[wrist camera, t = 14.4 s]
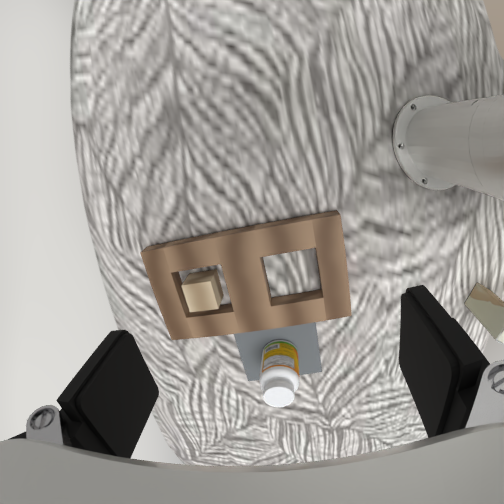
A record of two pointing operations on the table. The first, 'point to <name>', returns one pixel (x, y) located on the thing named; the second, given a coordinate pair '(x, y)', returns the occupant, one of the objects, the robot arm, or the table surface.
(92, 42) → the table surface
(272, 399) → the supplement bottle
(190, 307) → the maple block
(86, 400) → the robot arm
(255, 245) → the puzzle board
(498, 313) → the box
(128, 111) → the table surface
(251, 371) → the rubber mat
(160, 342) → the table surface
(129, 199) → the table surface
